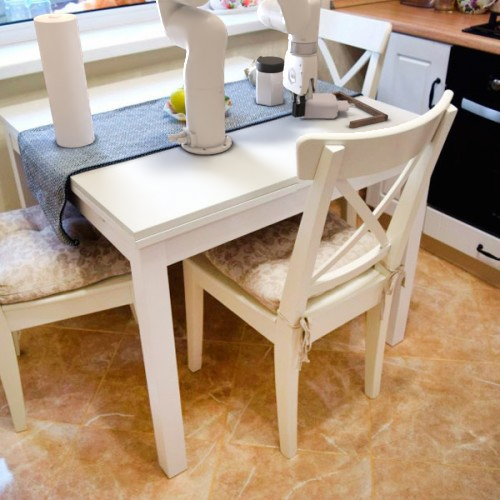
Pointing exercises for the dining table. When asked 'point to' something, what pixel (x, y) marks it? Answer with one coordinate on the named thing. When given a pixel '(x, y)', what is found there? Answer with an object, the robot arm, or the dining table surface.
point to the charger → (324, 106)
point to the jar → (269, 80)
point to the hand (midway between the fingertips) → (298, 115)
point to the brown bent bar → (377, 114)
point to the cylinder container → (65, 78)
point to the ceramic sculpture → (252, 73)
